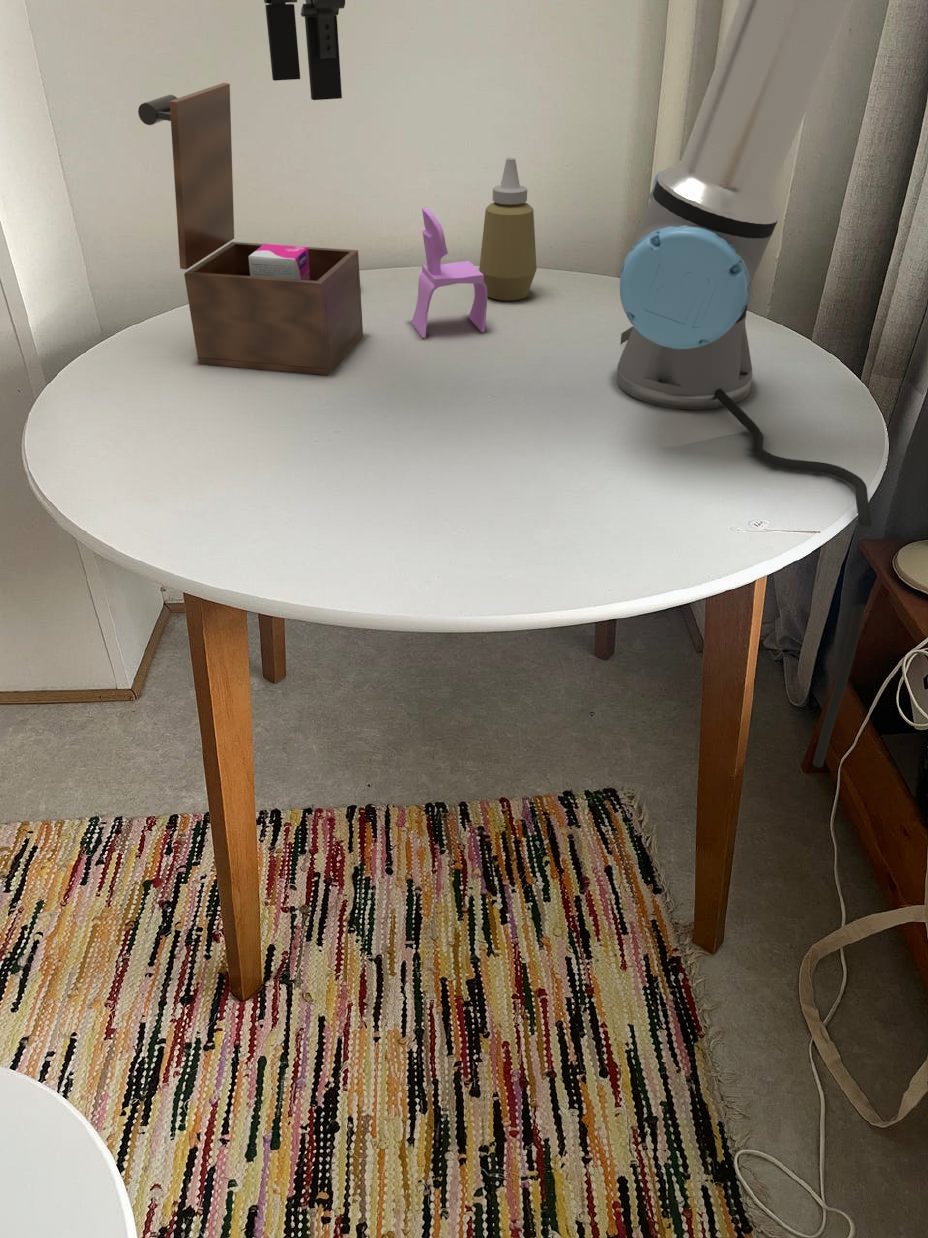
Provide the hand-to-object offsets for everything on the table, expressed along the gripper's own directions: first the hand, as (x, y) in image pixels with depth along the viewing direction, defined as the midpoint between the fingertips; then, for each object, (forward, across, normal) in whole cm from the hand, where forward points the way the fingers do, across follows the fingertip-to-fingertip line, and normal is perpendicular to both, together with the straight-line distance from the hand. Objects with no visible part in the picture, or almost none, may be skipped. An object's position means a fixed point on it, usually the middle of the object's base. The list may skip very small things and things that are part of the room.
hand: (305, 88), depth 96 cm
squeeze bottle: (+31, -22, +33) cm, 51 cm away
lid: (+11, -19, -7) cm, 23 cm away
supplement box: (+30, -14, -1) cm, 33 cm away
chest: (+31, -14, -2) cm, 34 cm away
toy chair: (+31, -14, +21) cm, 40 cm away
